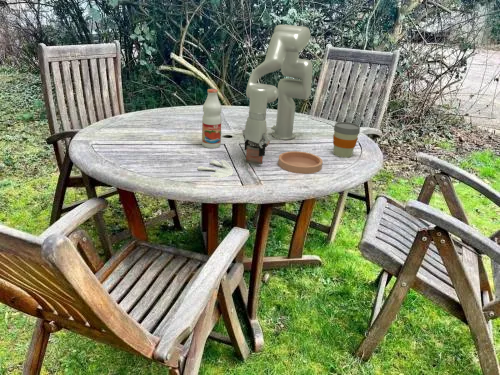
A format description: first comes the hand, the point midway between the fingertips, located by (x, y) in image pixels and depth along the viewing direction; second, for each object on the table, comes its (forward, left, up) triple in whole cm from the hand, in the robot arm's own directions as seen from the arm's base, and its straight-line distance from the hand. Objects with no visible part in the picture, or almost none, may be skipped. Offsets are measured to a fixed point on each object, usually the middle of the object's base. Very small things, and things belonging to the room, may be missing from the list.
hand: (254, 152), depth 185 cm
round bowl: (+14, +16, -5) cm, 22 cm away
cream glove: (-5, -19, -6) cm, 20 cm away
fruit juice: (-29, -3, -5) cm, 30 cm away
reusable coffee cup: (+16, +46, -5) cm, 49 cm away
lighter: (0, 0, -5) cm, 5 cm away
